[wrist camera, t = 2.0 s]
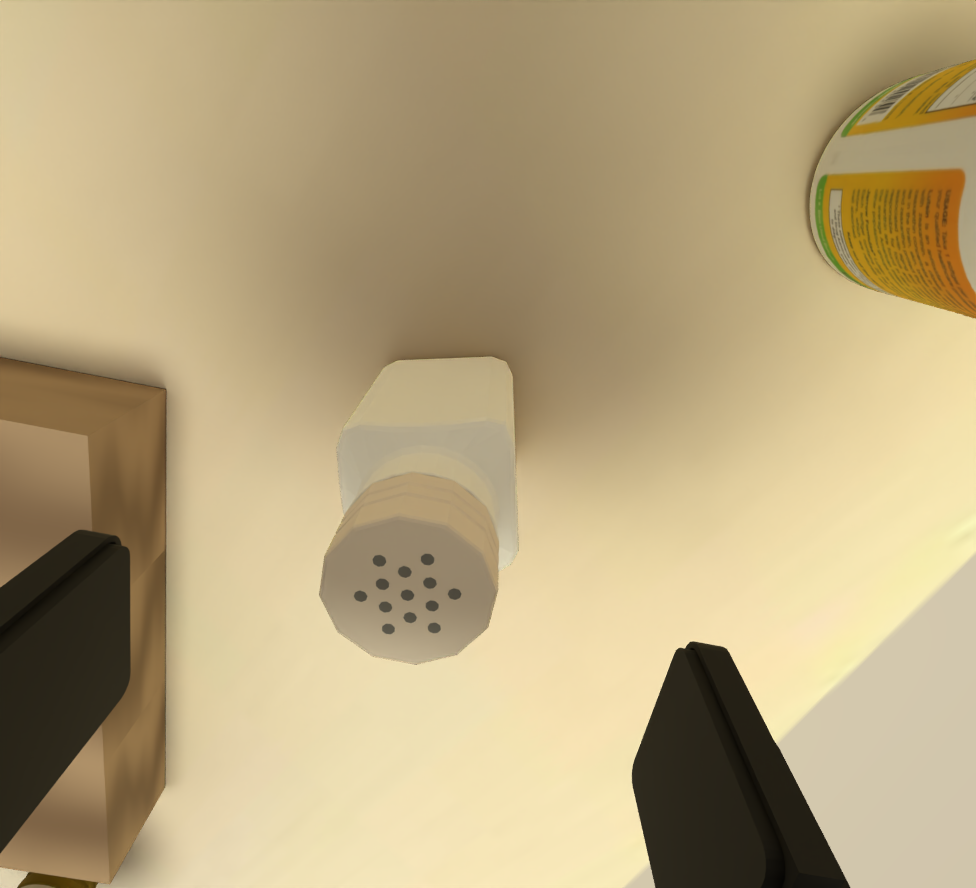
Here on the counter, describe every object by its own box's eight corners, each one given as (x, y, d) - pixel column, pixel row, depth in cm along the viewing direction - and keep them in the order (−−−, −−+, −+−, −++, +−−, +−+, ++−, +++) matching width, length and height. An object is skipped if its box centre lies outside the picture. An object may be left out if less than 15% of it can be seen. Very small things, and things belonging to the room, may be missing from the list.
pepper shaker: (511, 350, 19) (516, 490, 10) (515, 470, 21) (523, 681, 12) (381, 356, 19) (276, 497, 10) (395, 474, 21) (313, 685, 12)
